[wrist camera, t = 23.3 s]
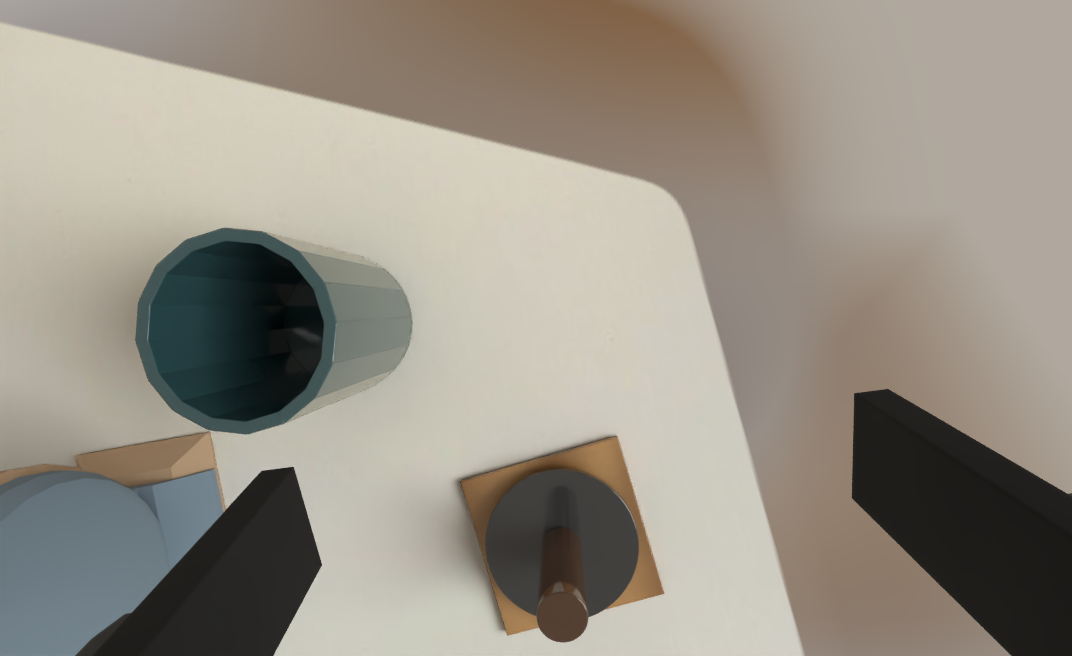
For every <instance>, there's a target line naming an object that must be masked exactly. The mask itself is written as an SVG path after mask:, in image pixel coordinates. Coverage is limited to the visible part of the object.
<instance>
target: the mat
mask: <svg viewBox="0 0 1072 656" xmlns="http://www.w3.org/2000/svg"><path fill="white" fill-rule="evenodd" d="M552 468H570V469H577V470H580V471H584V472H587V473H590V474H592V475H594V476H596V477H598V478H600V479H602V480H603V481H605V482H606V483H607V484H609V485H610V486H611V487H612V488H614V489H615V490H616V491H617V492H618V493H619V495H620V496H621V497H622V498H623V500H624V501H625V502H626V504H627V506H628V508H629V509H630V511H631V514H632V516H633V518H634V521H635V524H636V528H637V531H638V538H639V556H638V562H637V566H636V570H635V573H634V575H633V577H632V580H631V581H630V583H629V585H628V586H627V588H626V590H625V591H624V592H623V593H622V595H621V596H620V597H619V598H618V599H617V600H616V601H615V602H614V603H613V604H611V605H610V606H609V607H607V608H606V609H609V608H613V607H617V606H620V605H624V604H628V603H631V602H635V601H639V600H643V599H646V598H650V597H654V596H658V595H661V594H664V591H663V588H662V584H661V581H660V578H659V574H658V571H657V568H656V564H655V561H654V557H653V554H652V551H651V547H650V544H649V541H648V537H647V534H646V531H645V527H644V524H643V521H642V517H641V514H640V510H639V507H638V504H637V500H636V497H635V494H634V490H633V487H632V484H631V480H630V477H629V474H628V470H627V467H626V463H625V460H624V457H623V453H622V450H621V447H620V443H619V440H618V437H617V436H614V437H611V438H607V439H604V440H600V441H597V442H593V443H590V444H586V445H583V446H579V447H576V448H572V449H569V450H565V451H562V452H558V453H555V454H551V455H548V456H544V457H541V458H537V459H534V460H530V461H527V462H523V463H519V464H516V465H512V466H509V467H505V468H502V469H498V470H495V471H491V472H488V473H484V474H481V475H477V476H474V477H470V478H467V479H463V480H462V481H461V485H462V489H463V492H464V495H465V499H466V502H467V505H468V508H469V512H470V515H471V518H472V521H473V525H474V528H475V531H476V534H477V538H478V541H479V544H480V548H481V551H482V554H483V557H484V561H485V564H486V567H487V570H488V574H489V577H490V580H491V583H492V587H493V590H494V593H495V597H496V600H497V603H498V606H499V610H500V613H501V616H502V619H503V623H504V626H505V629H506V632H507V635H512V634H516V633H519V632H523V631H527V630H531V629H534V628H538V627H539V626H538V623H537V618H536V616H534V615H532V614H529V613H527V612H526V611H524V610H522V609H521V608H519V607H518V606H516V605H515V604H514V603H513V602H511V601H510V600H509V599H508V598H507V597H506V596H505V595H504V593H503V592H502V591H501V590H500V588H499V587H498V585H497V584H496V582H495V580H494V579H493V576H492V574H491V572H490V569H489V566H488V562H487V558H486V551H485V538H486V530H487V526H488V522H489V519H490V516H491V514H492V512H493V509H494V507H495V506H496V504H497V502H498V501H499V499H500V498H501V497H502V495H503V494H504V493H505V492H506V491H507V490H508V489H509V488H510V487H511V486H512V485H513V484H515V483H516V482H517V481H519V480H520V479H522V478H524V477H526V476H527V475H530V474H532V473H535V472H537V471H541V470H545V469H552Z"/></svg>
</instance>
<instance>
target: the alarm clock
mask: <svg viewBox="0 0 1072 656" xmlns="http://www.w3.org/2000/svg"><path fill="white" fill-rule="evenodd" d="M75 458H76V463H77V467H69V466H60V465H51V464H43V465H37V466H31V467H25V468H19V469H13V470H7V471H1V472H0V656H75V655H76V654H77V653H78V652H79V651H80V650H81V649H82V648H83V647H84V646H85V645H86V644H87V643H88V642H89V641H90V640H91V639H92V638H93V637H94V636H96V635H97V634H99V633H100V632H101V631H103V630H104V629H105V628H107V627H108V626H109V625H111V624H112V623H113V622H115V621H116V620H117V619H119V618H120V617H121V616H123V615H124V614H127V613H132V612H133V611H134V610H135V609H136V608H137V606H138V605H139V604H140V603H141V602H142V601H143V600H144V599H145V598H146V597H147V596H148V594H149V593H150V592H151V591H152V590H153V589H154V588H155V587H156V586H157V585H158V584H159V582H160V581H161V580H162V579H163V578H164V577H165V576H166V575H167V574H168V573H169V572H170V570H171V569H172V568H173V567H174V566H175V565H176V564H177V563H178V562H179V561H180V560H181V558H182V557H183V556H184V555H185V554H186V553H187V552H188V551H189V550H190V549H191V548H192V546H193V545H194V544H195V543H196V542H197V541H198V540H199V539H200V538H201V537H202V536H203V534H204V533H205V532H206V531H207V530H208V529H209V528H210V527H211V526H212V525H213V524H214V522H215V521H216V520H217V519H218V518H219V517H220V516H221V515H222V514H223V513H224V512H225V505H224V500H223V495H222V490H221V485H220V480H219V475H218V470H217V465H216V460H215V455H214V450H213V445H212V440H211V435H210V432H208V433H202V434H196V435H190V436H185V437H179V438H173V439H167V440H162V441H156V442H150V443H144V444H139V445H133V446H127V447H121V448H116V449H110V450H104V451H98V452H93V453H87V454H81V455H77V456H75Z"/></svg>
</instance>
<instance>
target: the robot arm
mask: <svg viewBox="0 0 1072 656" xmlns="http://www.w3.org/2000/svg"><path fill="white" fill-rule="evenodd" d="M852 476H853V477H852V499H853V500H855V502H856V503H857V504H859V506H860V507H861V508H862V509H864V511H866V512H867V513H868V514H869V515H870V516H871V517H872V518H873V519H874V520H875V521H876V522H877V523H878V524H879V525H880V526H881V527H882V528H883V529H884V530H885V531H886V532H887V533H888V534H889V535H890V536H891V537H892V538H893V539H894V540H895V541H896V542H897V543H898V544H899V545H900V546H901V547H902V548H903V549H904V550H905V551H906V552H907V553H908V554H909V555H910V556H911V557H912V558H913V559H914V560H915V561H916V562H917V563H918V564H919V565H920V566H921V567H922V568H923V569H924V570H925V571H926V572H927V573H928V574H929V575H931V577H932V578H933V579H934V580H935V581H936V582H937V583H939V585H940V586H941V587H942V588H943V589H945V590H946V591H947V592H948V593H949V594H950V595H951V596H952V597H953V598H954V599H955V600H956V601H957V602H958V603H959V604H960V605H961V606H962V607H963V608H964V609H965V610H966V611H967V612H968V613H969V614H970V615H971V616H972V617H973V618H974V619H975V620H976V621H977V622H978V623H979V624H980V625H981V626H982V627H983V628H984V629H985V630H986V631H987V632H988V633H989V634H990V635H991V636H992V637H993V638H994V639H995V640H996V641H997V642H998V643H999V644H1000V645H1001V646H1002V647H1003V648H1004V649H1005V650H1006V651H1007V652H1008V653H1009V654H1010V655H1011V656H1072V493H1071V494H1067V493H1065V492H1063V491H1062V490H1060V489H1058V488H1057V487H1055V486H1053V485H1051V484H1049V483H1048V482H1046V481H1044V480H1043V479H1041V478H1039V477H1038V476H1036V475H1034V474H1033V473H1031V472H1029V471H1027V470H1026V469H1024V468H1022V467H1021V466H1019V465H1017V464H1015V463H1014V462H1012V461H1010V460H1008V459H1007V458H1005V457H1003V456H1002V455H1000V454H998V453H997V452H995V451H993V450H991V449H990V448H988V447H986V446H985V445H983V444H981V443H979V442H978V441H976V440H974V439H973V438H971V437H969V436H967V435H966V434H964V433H962V432H960V431H959V430H957V429H956V428H954V427H952V426H950V425H949V424H947V423H945V422H944V421H942V420H940V419H938V418H937V417H935V416H933V415H932V414H930V413H928V412H926V411H925V410H923V409H921V408H920V407H918V406H916V405H914V404H913V403H911V402H909V401H907V400H906V399H904V398H902V397H901V396H899V395H897V394H896V393H894V392H892V391H891V390H889V389H885V390H877V391H869V392H862V393H855V394H854V434H853V475H852ZM321 566H322V563H321V560H320V556H319V553H318V550H317V546H316V543H315V539H314V536H313V532H312V529H311V525H310V522H309V518H308V515H307V512H306V508H305V505H304V501H303V498H302V494H301V491H300V487H299V484H298V481H297V477H296V474H295V470H294V467H288V468H281V469H273V470H265V471H261V472H260V473H259V474H258V476H257V477H256V478H255V479H254V480H253V481H252V482H251V483H250V484H249V485H248V486H247V488H246V489H245V490H244V491H243V492H242V493H241V494H240V495H239V496H238V497H237V498H236V500H235V501H234V502H233V503H232V504H231V505H230V506H229V507H228V508H227V509H226V510H225V512H224V513H223V514H222V515H221V516H220V517H219V518H218V519H217V520H216V521H215V522H214V524H213V525H212V526H211V527H210V528H209V529H208V530H207V531H206V532H205V533H204V534H203V536H202V537H201V538H200V539H199V540H198V541H197V542H196V543H195V544H194V545H193V546H192V548H191V549H190V550H189V551H188V552H187V553H186V554H185V555H184V556H183V557H182V558H181V560H180V561H179V562H178V563H177V564H176V565H175V566H174V567H173V568H172V569H171V570H170V572H169V573H168V574H167V575H166V576H165V577H164V578H163V579H162V580H161V581H160V582H159V584H158V585H157V586H156V587H155V588H154V589H153V590H152V591H151V592H150V593H149V594H148V596H147V597H146V598H145V599H144V600H143V601H142V602H141V603H140V604H139V605H138V606H137V608H136V609H135V610H134V611H133V612H132V613H127V614H124V615H123V616H121V617H120V618H119V619H117V620H116V621H115V622H113V623H112V624H111V625H109V626H108V627H107V628H105V629H104V630H103V631H101V632H100V633H99V634H97V635H96V636H94V637H93V638H92V639H91V640H90V641H89V642H88V643H87V644H86V645H85V646H84V647H83V648H82V649H81V650H80V651H79V652H78V653H77V654H76V655H75V656H273V655H274V653H275V651H276V649H277V648H278V646H279V644H280V642H281V640H282V638H283V636H284V635H285V633H286V631H287V629H288V627H289V625H290V623H291V622H292V620H293V618H294V616H295V614H296V612H297V610H298V609H299V607H300V605H301V603H302V601H303V599H304V597H305V595H306V594H307V592H308V590H309V588H310V586H311V584H312V582H313V581H314V579H315V577H316V575H317V573H318V571H319V569H320V568H321Z"/></svg>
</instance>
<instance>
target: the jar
mask: <svg viewBox="0 0 1072 656" xmlns="http://www.w3.org/2000/svg"><path fill="white" fill-rule="evenodd" d="M411 332H412V317H411V310H410V306H409V303H408V300H407V297H406V295H405V293H404V291H403V289H402V287H401V286H400V285H399V283H398V282H397V280H396V279H395V278H394V277H393V276H392V275H391V274H390V273H389V272H387V271H386V270H385V269H384V268H382V267H381V266H379V265H378V264H376V263H374V262H372V261H369V260H367V259H365V258H363V257H361V256H357V255H353V254H349V253H345V252H341V251H337V250H334V249H330V248H326V247H322V246H318V245H314V244H310V243H306V242H302V241H298V240H294V239H290V238H286V237H282V236H278V235H275V234H271V233H267V232H263V231H254V230H244V229H233V228H221V229H218V230H215V231H211V232H208V233H205V234H202V235H199V236H196V237H193V238H190V239H187V240H185V241H184V242H182V243H181V244H180V245H179V246H178V247H177V248H176V249H174V250H173V251H172V252H171V253H170V254H169V255H167V256H166V257H165V258H164V259H163V260H162V261H161V262H159V263H158V264H157V265H156V267H155V268H154V270H153V272H152V274H151V276H150V279H149V281H148V283H147V285H146V287H145V289H144V291H143V293H142V295H141V297H140V299H139V302H138V310H137V325H136V339H135V340H136V341H137V342H136V344H137V348H138V351H139V354H140V357H141V360H142V363H143V366H144V369H145V373H146V376H147V379H148V381H149V382H150V383H151V385H152V386H153V387H154V388H155V390H156V391H157V392H158V393H159V394H160V396H161V397H162V398H163V399H164V401H165V402H166V403H167V404H168V405H169V407H170V408H171V409H172V410H173V411H174V412H176V413H178V414H180V415H182V416H183V417H185V418H187V419H189V420H191V421H193V422H194V423H196V424H198V425H200V426H202V427H203V428H205V429H208V430H211V431H220V432H229V433H238V434H251V433H255V432H258V431H262V430H265V429H268V428H272V427H275V426H278V425H282V424H285V423H287V422H289V421H292V420H294V419H297V418H299V417H301V416H304V415H306V414H308V413H311V412H313V411H315V410H318V409H320V408H323V407H325V406H327V405H330V404H332V403H334V402H337V401H339V400H341V399H344V398H346V397H348V396H351V395H353V394H356V393H358V392H360V391H363V390H365V389H367V388H370V387H372V386H374V385H376V384H377V383H379V382H380V381H381V380H383V379H384V378H386V377H387V376H388V375H389V374H390V373H391V372H393V371H394V370H395V368H396V367H397V366H398V365H399V363H400V362H401V360H402V359H403V357H404V355H405V353H406V351H407V348H408V346H409V342H410V338H411Z"/></svg>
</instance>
